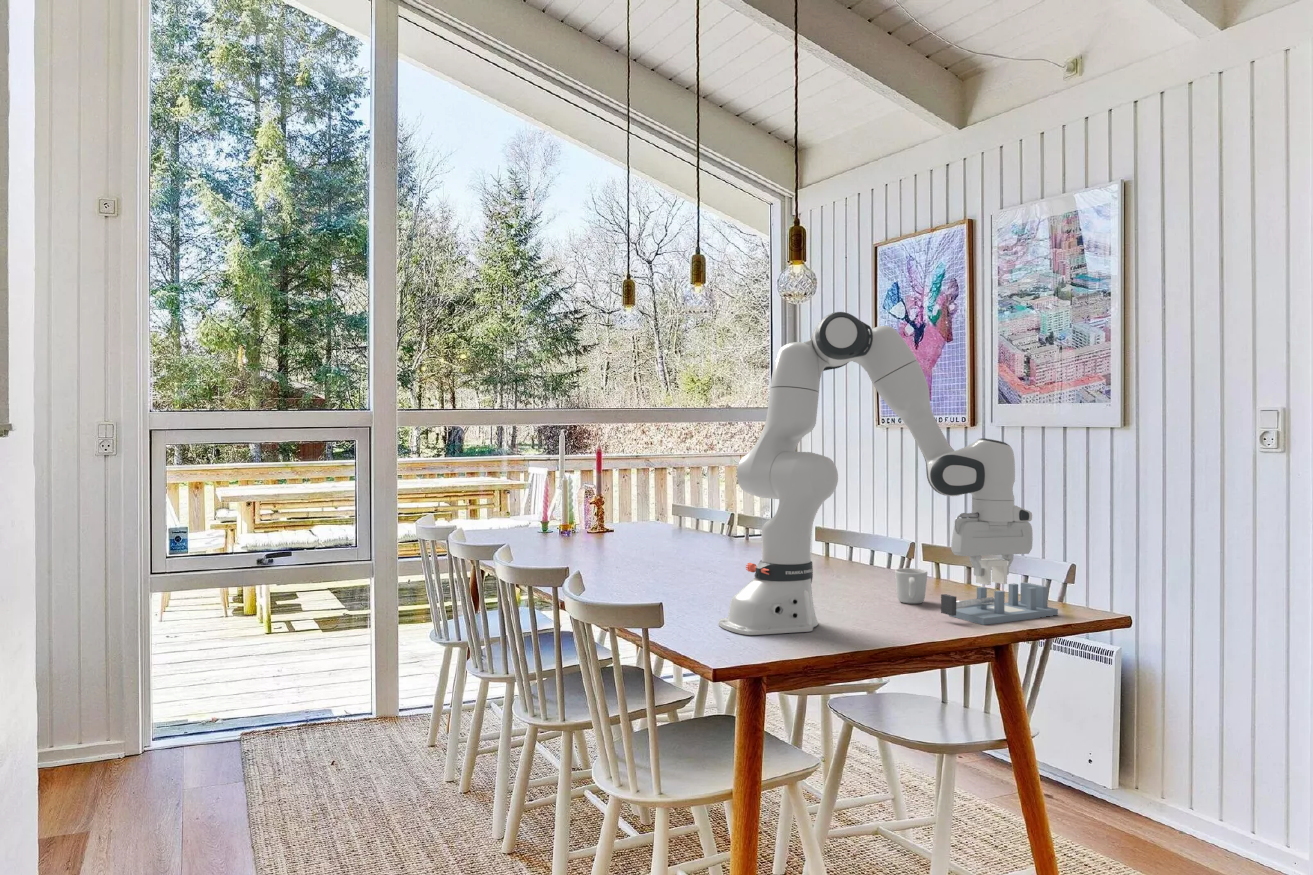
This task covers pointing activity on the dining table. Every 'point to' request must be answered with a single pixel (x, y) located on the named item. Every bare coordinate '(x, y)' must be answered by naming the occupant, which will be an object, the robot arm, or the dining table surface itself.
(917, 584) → the cup
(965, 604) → the shaft
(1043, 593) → the block
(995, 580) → the bracket
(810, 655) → the dining table surface
